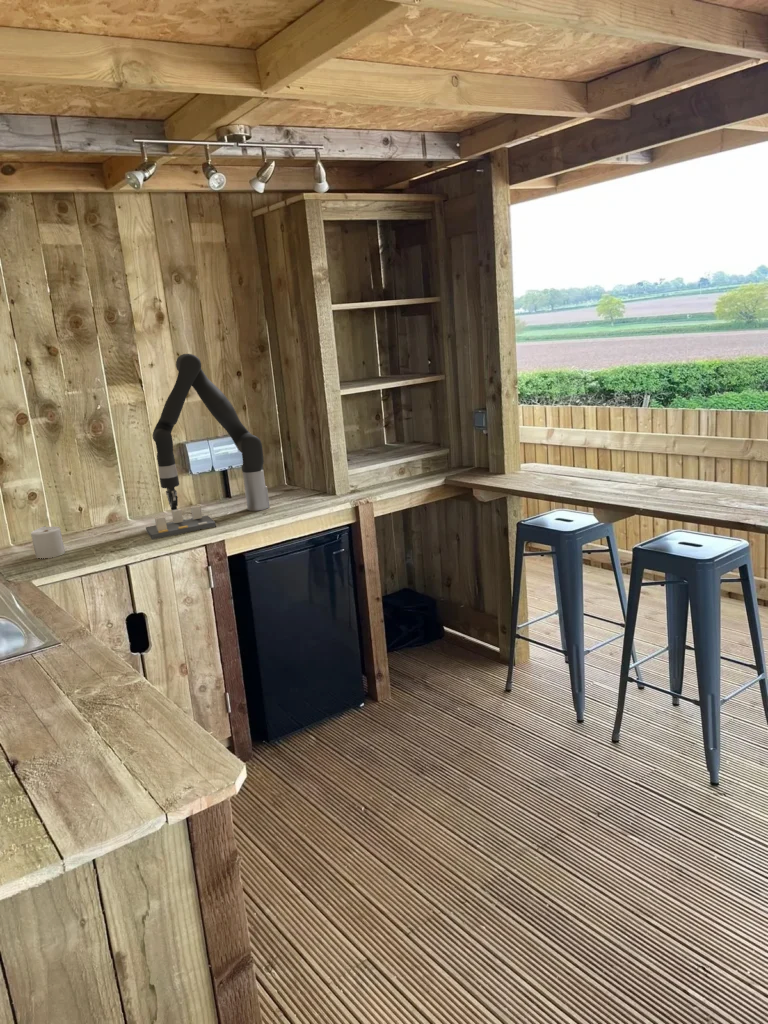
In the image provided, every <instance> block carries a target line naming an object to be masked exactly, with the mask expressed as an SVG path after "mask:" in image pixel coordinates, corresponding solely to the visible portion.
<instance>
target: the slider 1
mask: <svg viewBox="0 0 768 1024" xmlns="http://www.w3.org/2000/svg"><path fill="white" fill-rule="evenodd" d="M154 520H155V525H156V527H157V530H158V531H160V530H165V529H167V526H166V523H167V520H166V517H165V515H162V516H161V515H160V516H155V517H154Z"/></svg>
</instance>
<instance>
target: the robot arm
mask: <svg viewBox="0 0 768 1024" xmlns="http://www.w3.org/2000/svg"><path fill="white" fill-rule="evenodd" d="M175 367H176V369H177V371H178V374H177V377H176V381H175V383H174V385H173V388H172V390H171V391H170V394H169V395H168V397H167V399H166V401H165V403H164V405H163V408H162V411H161V414H160V416H159V419H158V421H157V422H156V424H155V427H154V429H153V432H152V440H153V441H154V443H155V446H156V447H155V448H156V452H157V453H156V460H157V467H158V475H159V476H158V478H159V483H160V488H162V489H166V491H165V495H166V497H167V501H168V505H169V507H170V509H171V510H170V511H171V512H172V510H176V509H178V505H179V503H178V502H179V501H178V500H179V499H178V492H177V490H176V489H175V488H176V487H179V485H180V481H179V474H178V469H177V466H176V465H177V464H176V460H175V454H174V441H173V436H172V431H173V429H174V426H176V424H177V423H178V421H179V419H180V415H181V413H182V410H183V408H184V405H185V401H186V399H187V396H188V394H189V392H190V389H192V388H193V389H194V391H195V392H196V394H197V395H198V397H199V398H200V400H201V401H202V403H203V404H204V406H205V407H206V409H207V410H208V412H210V414H211V415H212V416H213V418H214V419H215V420H216V421H217V423H219V425H220V426H221V427H222V428H223V429H224V430H225V431H226V432H227V434H228V436H229V437H230V439H231V440H232V441H233V443H234V445H235V446H236V448H237V449H238V451H239V452H240V453H241V456H242V458H241V459H242V464H241V472H242V479H243V487H244V493H245V501H246V509H247V511H251V512H252V511H253V512H256V511H263V510H267V509H268V508H269V509H270V499H269V491H268V486H266V480H265V479H266V478H265V470H264V463H265V461H264V453H263V452H264V451H263V444H262V440H261V439H260V438H259V437H258V436H256V435H254V434H252V433H251V432H250V431H249V430H248V429H247V427H245V426H244V424H243V423H242V421H241V420H240V418H239V416H238V414H237V411H236V410H235V408H234V406H233V404H232V403H231V401H229V398H228V397H227V396H226V395H225V394H224V393H223V391H221V389H219V387H218V386H217V385H215V384H214V383H213V382H212V381H211V379H209V377H208V376H207V375H206V373H205V372H204V370H203V369H202V362H201V360H200V358H199V357H198V356H196V355H195V354H192V353H184V354H181V355H179V356H178V357H177V358H176V361H175Z"/></svg>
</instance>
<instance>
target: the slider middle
mask: <svg viewBox="0 0 768 1024" xmlns="http://www.w3.org/2000/svg"><path fill="white" fill-rule="evenodd" d="M171 515H172V516H171V517H172V522H174V523H179V522H183V520H184V517H183V516H184V515H183V511H182V509H181V508H177V509H176V510H172V511H171Z"/></svg>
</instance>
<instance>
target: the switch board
mask: <svg viewBox="0 0 768 1024" xmlns="http://www.w3.org/2000/svg"><path fill="white" fill-rule="evenodd" d="M166 526H167V529H165V530H160V531H158V530H157V527H156V524H155V525H150V526H146V527H145V531H146V533H147V535H148V536H149V538H151V540H156V539H161V538H166V537H172V536H178V535H182V534H186V532H187V533H192V532H191V531H193V532H196V530H198V531H201V530H200V529H203V530H207V529H206V528H208V529H211V528H210V527H213V528H216V527H217V524H216V521H214V519H213V518H211V517H210V516H209V515H202V518H200V519H195V520H194V519H193V518H192V517H191V518H188V519H187V518H186V519H183V522H179V523H174V522H173V521H171V522H166ZM215 526H216V527H215Z"/></svg>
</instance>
